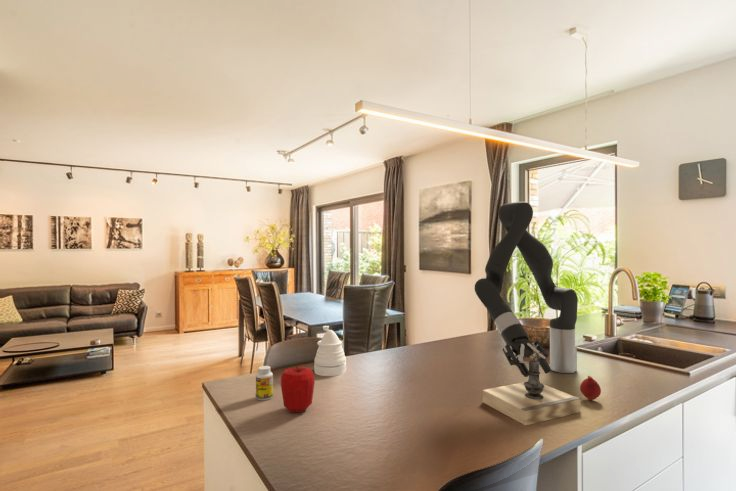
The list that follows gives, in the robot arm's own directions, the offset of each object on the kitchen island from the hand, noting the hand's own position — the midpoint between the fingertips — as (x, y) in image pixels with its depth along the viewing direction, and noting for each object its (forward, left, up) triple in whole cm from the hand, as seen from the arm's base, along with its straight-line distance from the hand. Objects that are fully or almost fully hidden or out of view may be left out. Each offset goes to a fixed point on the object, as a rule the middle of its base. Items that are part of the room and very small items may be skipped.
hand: (538, 373), depth 121 cm
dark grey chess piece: (0, -2, -8) cm, 8 cm away
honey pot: (+46, -63, -12) cm, 79 cm away
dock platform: (0, -3, -11) cm, 12 cm away
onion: (-22, +1, -12) cm, 25 cm away
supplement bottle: (+75, -45, -12) cm, 88 cm away
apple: (+67, -31, -12) cm, 75 cm away
